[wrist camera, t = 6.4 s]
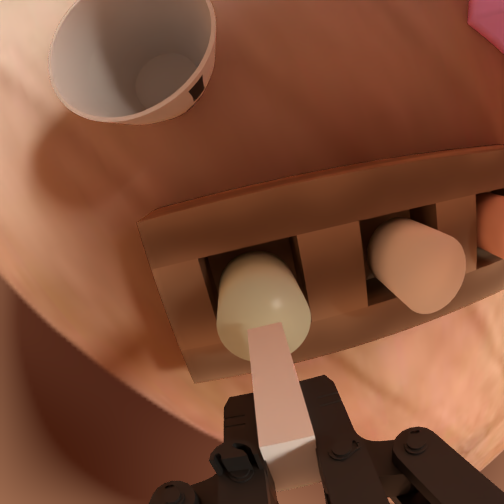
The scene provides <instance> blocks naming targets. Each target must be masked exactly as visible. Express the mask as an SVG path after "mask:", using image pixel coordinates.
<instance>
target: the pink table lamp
mask: <svg viewBox="0 0 504 504" xmlns="http://www.w3.org/2000/svg"><path fill="white" fill-rule="evenodd" d="M467 24H468V25H470V26H471V27H472V28H474V29H475V30H476V31H477V32H479V33H480V34H481V35H482V36H483V37H485V38H486V39H487V40H488V41H489V42H490V43H492V44H493V45H494V46H495V47H496V48H497V49H498V50H500V51H501V52H502V53H503V54H504V0H469V8H468V20H467Z"/></svg>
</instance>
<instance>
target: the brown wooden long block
mask: <svg viewBox="0 0 504 504" xmlns="http://www.w3.org/2000/svg"><path fill="white" fill-rule="evenodd" d="M484 192H488V193H493V194H497V195H501V196H504V145H500V144H498V145H488V146H478V147H469V148H460V149H452V150H444V151H436V152H428V153H421V154H414V155H407V156H401V157H394V158H388V159H382V160H376V161H370V162H364V163H358V164H352V165H347V166H341V167H336V168H331V169H325V170H320V171H315V172H310V173H305V174H300V175H295V176H291V177H286V178H281V179H277V180H272V181H267V182H263V183H258V184H254V185H250V186H245V187H241V188H237V189H233V190H228V191H224V192H220V193H216V194H212V195H208V196H204V197H200V198H196V199H193V200H189V201H185V202H181V203H177V204H174V205H170V206H166V207H163V208H159V209H155V210H154V211H153V212H151V213H150V214H148V215H147V216H145V217H144V218H143V219H141V220H140V221H138V222H137V226H138V229H139V233H140V236H141V239H142V243H143V246H144V249H145V252H146V255H147V258H148V261H149V265H150V268H151V271H152V274H153V277H154V280H155V283H156V285H157V288H158V291H159V294H160V297H161V300H162V303H163V305H164V308H165V311H166V314H167V316H168V319H169V322H170V324H171V327H172V330H173V332H174V335H175V337H176V340H177V342H178V345H179V348H180V350H181V353H182V355H183V357H184V360H185V362H186V365H187V367H188V370H189V372H190V374H191V377H192V379H193V381H194V384H195V383H201V382H207V381H213V380H218V379H224V378H229V377H234V376H239V375H244V374H249V373H251V363H250V361H248V360H244V359H242V358H239V357H238V356H236V355H234V354H233V353H231V352H230V351H229V350H228V349H227V348H226V347H225V346H224V344H223V343H222V341H221V340H220V337H219V335H218V331H217V324H216V323H217V310H218V297H219V285H220V278H221V275H222V272H223V270H224V269H225V267H226V266H227V264H228V263H229V262H230V261H231V260H233V259H234V258H235V257H237V256H239V255H241V254H243V253H246V252H249V251H266V252H270V253H272V254H275V255H277V256H278V257H280V258H281V259H282V260H283V261H284V262H285V263H286V264H287V265H288V267H289V268H290V270H291V272H292V274H293V276H294V278H295V280H296V282H297V284H298V286H299V288H300V290H301V292H302V294H303V296H304V298H305V300H306V301H307V304H308V306H309V309H310V313H311V324H310V329H309V332H308V334H307V336H306V338H305V340H304V341H303V343H302V344H301V345H300V346H299V347H298V348H297V349H296V350H295V351H294V352H292V353H291V356H292V360H293V363H297V362H301V361H305V360H309V359H313V358H317V357H320V356H324V355H328V354H331V353H335V352H338V351H342V350H345V349H348V348H352V347H355V346H358V345H362V344H365V343H368V342H371V341H374V340H377V339H380V338H383V337H386V336H389V335H392V334H395V333H398V332H401V331H404V330H407V329H409V328H412V327H415V326H418V325H420V324H423V323H426V322H428V321H431V320H434V319H436V318H439V317H441V316H444V315H446V314H449V313H451V312H454V311H456V310H459V309H461V308H463V307H466V306H468V305H470V304H473V303H475V302H477V301H479V300H482V299H484V298H486V297H488V296H491V295H493V294H495V293H497V292H499V291H501V290H503V289H504V259H502V258H500V257H497V256H495V255H493V254H491V253H489V252H487V251H485V250H483V249H480V248H478V247H477V215H476V195H475V194H479V193H484ZM394 217H406V218H409V219H411V220H414V221H416V222H419V223H421V224H424V225H426V226H428V227H431V228H433V229H436V230H438V231H440V232H443V233H445V234H447V235H450V236H452V237H453V238H455V239H456V240H457V241H458V242H459V243H460V244H461V246H462V248H463V250H464V253H465V258H466V271H465V276H464V280H463V282H462V285H461V287H460V289H459V291H458V292H457V294H456V295H455V297H454V298H453V299H452V300H451V302H449V303H448V304H447V305H446V306H445V307H443V308H442V309H440V310H438V311H436V312H434V313H430V314H420V313H416V312H414V311H412V310H411V309H410V308H409V307H408V306H407V305H406V304H404V303H403V302H402V301H401V300H400V299H399V298H398V297H397V296H396V295H395V294H394V293H392V292H391V291H390V290H389V289H388V288H387V287H386V286H385V285H384V284H383V283H381V282H380V281H379V280H378V279H377V278H376V277H375V276H374V275H373V274H372V272H371V271H370V269H369V266H368V263H367V247H368V243H369V240H370V238H371V236H372V234H373V233H374V231H375V230H376V229H377V228H378V227H379V226H380V225H381V224H382V223H383V222H385V221H386V220H388V219H391V218H394Z"/></svg>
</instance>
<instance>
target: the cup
mask: <svg viewBox="0 0 504 504" xmlns="http://www.w3.org/2000/svg"><path fill="white" fill-rule="evenodd" d="M215 46H216V17H215V12H214V8H213V5H212V3H211V1H210V0H77V1H76V2H75V3H74V4H73V5H72V6H71V7H70V9H69V10H68V11H67V12H66V14H65V15H64V17H63V18H62V20H61V21H60V23H59V25H58V27H57V29H56V31H55V33H54V36H53V39H52V42H51V45H50V50H49V57H48V71H49V78H50V82H51V85H52V87H53V90H54V92H55V94H56V95H57V97H58V98H59V100H60V101H61V102H62V103H63V104H64V105H65V106H66V107H67V108H68V109H69V110H71V111H72V112H74V113H75V114H77V115H79V116H81V117H84V118H86V119H89V120H94V121H100V122H110V123H121V124H130V125H147V124H153V123H157V122H162V121H166V120H170V119H173V118H175V117H178V116H180V115H181V114H183V113H185V112H186V111H188V110H189V109H190V108H191V107H193V106H194V105H195V104H196V102H197V101H198V100H199V99H200V97H201V96H202V94H203V93H204V91H205V89H206V86H207V84H208V82H209V79H210V77H211V74H212V72H213V68H214V63H215Z"/></svg>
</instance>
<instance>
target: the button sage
mask: <svg viewBox="0 0 504 504" xmlns="http://www.w3.org/2000/svg"><path fill="white" fill-rule="evenodd" d="M278 322H281V323H282V326H283V330H284V333H285V336H286V340H287V343H288V346H289V350H290V353H292V352H294V351H295V350H296V349H297V348H298V347H299V346H300V345H301V344H302V343H303V341H304V340H305V338H306V336H307V334H308V332H309V329H310V324H311V313H310V309H309V306H308V304H307V301H306V300H305V298H304V296H303V294H302V292H301V290H300V288H299V286H298V284H297V282H296V280H295V278H294V276H293V274H292V272H291V270H290V268H289V267H288V265H287V264H286V263H285V262H284V261H283V260H282V259H281V258H280V257H278V256H277V255H275V254H272V253H270V252H266V251H249V252H246V253H243V254H241V255H239V256H237V257H235V258H234V259H233V260H231V261H230V262H229V263H228V264H227V266H226V267H225V269H224V270H223V272H222V275H221V278H220V285H219V297H218V310H217V323H216V324H217V331H218V335H219V337H220V340H221V341H222V343H223V344H224V346H225V347H226V348H227V349H228V350H229V351H230V352H231V353H233V354H234V355H236V356H238V357H239V358H242V359H244V360H248V361H250V353H249V343H248V333H247V330H248V329H252V328H257V327H261V326H265V325H270V324H274V323H278Z"/></svg>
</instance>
